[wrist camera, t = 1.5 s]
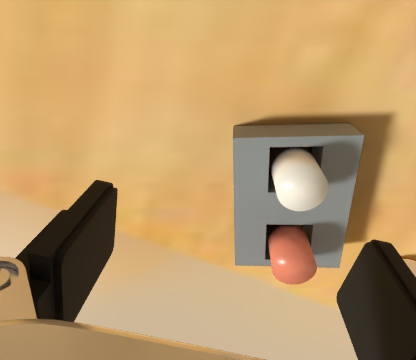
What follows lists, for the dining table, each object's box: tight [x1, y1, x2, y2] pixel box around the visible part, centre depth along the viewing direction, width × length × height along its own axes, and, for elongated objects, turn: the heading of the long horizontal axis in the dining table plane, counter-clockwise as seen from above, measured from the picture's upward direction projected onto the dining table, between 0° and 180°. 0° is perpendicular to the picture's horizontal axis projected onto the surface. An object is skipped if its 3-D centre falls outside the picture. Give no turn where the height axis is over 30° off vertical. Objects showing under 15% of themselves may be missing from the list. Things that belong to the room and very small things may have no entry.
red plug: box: [268, 225, 317, 284], centre depth 32 cm, size 4×4×4 cm
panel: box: [233, 123, 364, 268], centre depth 33 cm, size 12×16×4 cm
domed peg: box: [271, 148, 328, 211], centre depth 28 cm, size 4×4×4 cm
